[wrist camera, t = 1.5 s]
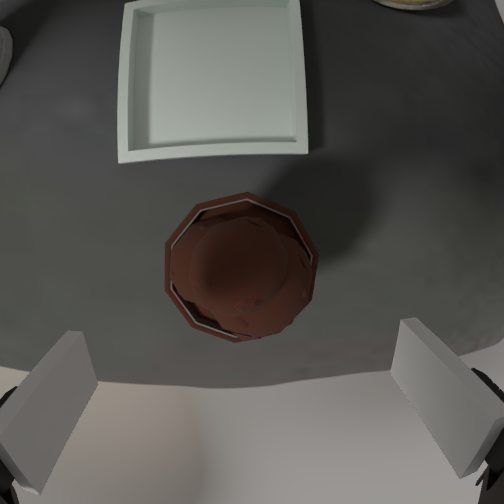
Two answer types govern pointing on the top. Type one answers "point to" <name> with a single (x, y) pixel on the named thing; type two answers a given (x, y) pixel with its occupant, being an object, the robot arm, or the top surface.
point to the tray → (211, 80)
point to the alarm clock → (414, 4)
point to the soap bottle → (5, 52)
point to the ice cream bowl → (240, 267)
